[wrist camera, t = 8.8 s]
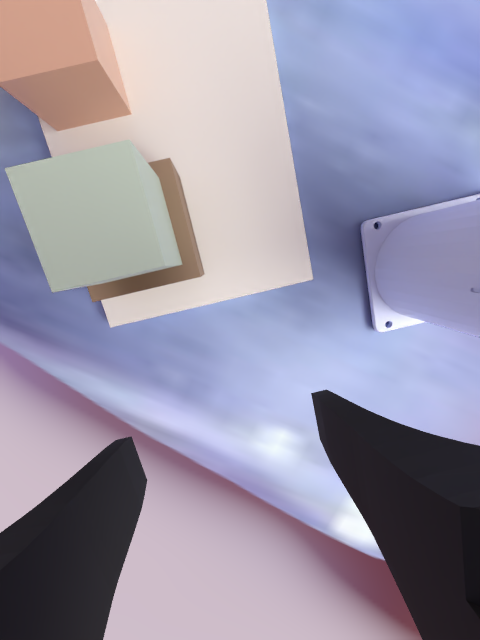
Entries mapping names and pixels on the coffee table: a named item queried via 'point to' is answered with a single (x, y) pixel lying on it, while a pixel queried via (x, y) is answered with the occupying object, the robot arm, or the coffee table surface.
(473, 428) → the coffee table surface
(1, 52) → the terracotta block
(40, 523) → the robot arm
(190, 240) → the walnut block
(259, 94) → the cream board
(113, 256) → the sage block
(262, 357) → the coffee table surface
